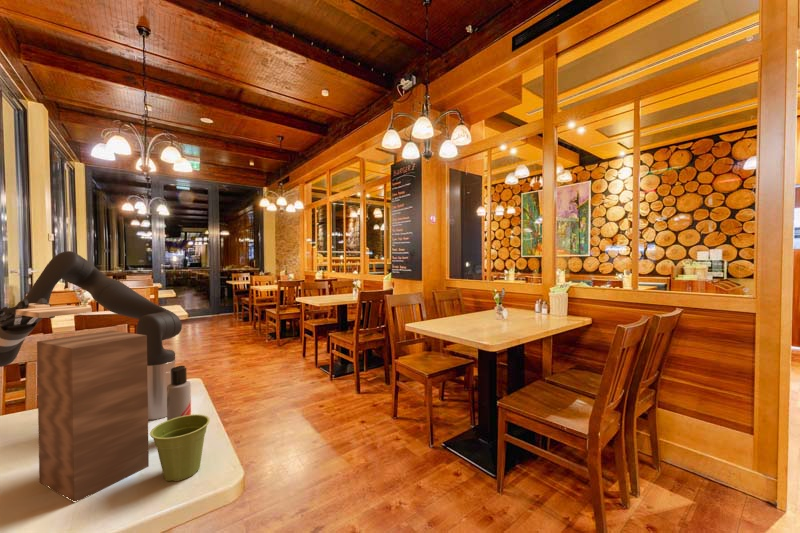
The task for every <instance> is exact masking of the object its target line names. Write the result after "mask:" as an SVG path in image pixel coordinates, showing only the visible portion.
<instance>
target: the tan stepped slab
mask: <svg viewBox="0 0 800 533" xmlns="http://www.w3.org/2000/svg"><path fill="white" fill-rule="evenodd" d="M50 305H51V304H50ZM50 305H45V304H36V303H30V304H29V306H28V308H27V309H17V310H16V314H17V315H23V316H30V317H36V318H42V319H44V318H47V317H48V318H49V317H52V316H55V317H59V316H61V317H62V316H68V315H69V316H70V315H77V314H78V315H79V314H88V313H93V308H92V307H89V306H80V305H70V304H64V305H63V304H62V305H54V306H52V305H51V307H50ZM43 317H44V318H43Z"/></svg>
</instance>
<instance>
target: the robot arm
mask: <svg viewBox="0 0 800 533" xmlns="http://www.w3.org/2000/svg"><path fill="white" fill-rule="evenodd" d="M61 280H63V281H65V282H67V283H70V284H71V285H75V286H76V287H79V288H80V289H83V290H85V292H88V293H89V294H90V295H91V297H92V298H93V300H94V301H95V302H96V303H97V304H99V305H101V307H103V308H104V309H106V310H107V311H109V312H110V313H111V312H112V313H114V314H117V315H119V316H123V317H128V318H131V319H137V320H138V321H137V325H136V334H141V335H147V379H148V421H149V420H151V421H152V420H153V421H154V420H159V419H163V418H165V417H166V418H167V386H168V385H169V384H171V369H172V368H174V367H176V352H175V351H174V350H172V349H165V348H164V345H163V341H165V340H169V339H172V338H174V337H177V336H178V335H179V334H180V333H181V331H182V329H183V325H182V324H183V323H182V321H181V319H180V317H179V316H178V315H177V314H176V313H174V312H173V311H171V310H169V309H167V308H165V307H163V306H160V305H158V304H156V303H154V302H153V301H151V300H149V299H148V298H146V297H145V296H143V295H142V294H140V293H138V292H136V291H135V290H134V289H133V288H130V286H127V285H126V284H125V283H123V282H121V281H119V280H117V279H114V278H111V277H108V276H106V274H104V273H102V271H100V270H99V269H98V268H97V267H96V266H95V265H93V263H91V262H90V261H89V260H87V259H86V258H84V257H83V256H81V255H79V254H78V253H76V252H74V251H71V250H69V251H68V250H66V251H62V252H59V253H57V254H56V255H55V256H53V257H52V259H51V260H49V262H48V263H47V264H46V266H45V267H44V269H43V270H42V272H41V273H40V275H39V276H38V278H37V279H36V280H35V282H34V283H33V285H32V287H31V288H30V289H29V291H28V293H27V295H25V297H24V298H23V299H22V300H21V301H20V300H19V301H18V302H17V303H16V305H13V307H10V306H5V307H2V308H0V368H1V367H6V366H9V365H10V364H12V363H13V362H14V361H15V360H16V358H17V356H18V355H19V353H20V351H21V347H22V345H23V343H24V341H25V340H26V338H27V337H28V336H29V334H30V333H31V332H32V331H33V330H35V328H36V326H37V325H38V323H39V322H40V321H42V320H43V319H44V318H45V317H43V318H36V317H30V316H23V315H17V314H16V310H17V309H27V308H28V306H29V304H30V303H36V304H45V305H50V307H51V306H52V305H51V304H50V299H51V296H52V292H53V290H54V289H55V287H56V286H57V284H58V283H59V282H60V281H61ZM46 318H49V319H54V318H56V316H52V317H46Z"/></svg>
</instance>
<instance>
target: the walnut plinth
mask: <svg viewBox="0 0 800 533" xmlns="http://www.w3.org/2000/svg"><path fill="white" fill-rule="evenodd" d="M36 355H37V361H36V364H37V370H36V372H37V411H38V412H37V414H38V415H37V420H38V467H39V468H38V469H39V470H38V472H39V473H38V474H39V478H38V479H39V483H40V484H41V483H42V484H41V485H43V484H45V485H47V486H49V487H50V488H51V489H50V488H49V489H50V490H52V489H53V490H54V492H55V491H56V492H55V493H57V492H58V493H59V495H60V494H61V495H60V496H62V495H64V496H65V497H68V498H69V499H71V500H73V501H77V500H80V499H82V498H84V497H86V496H88V495H90V496H92V495H94V494H97V493H98V492H100V491H102V490H103V489H107V488H108V487H110V486H112V485H114V484H116V483H118V482H120V481H123V480H124V479H127V478H128V477H130V476H132V475H134V474H136V473H139V472H140V471H142V470H144V469H146V468H148V467H149V466H150V463H149V462H150V460H149V456H150V455H149V454H150V453H149V420H148V379H147V335H141V334H137V333H133V332H125V331H120V330H111V329H109V330H104V331H97V332H96V331H95V332H90V333H84V334H79V335H70V336H64V337H58V338H53V339H51V338H50V339H44V340H39V341H36ZM45 485H44V486H45ZM53 490H52V491H53ZM58 493H57V494H58ZM91 494H92V495H91ZM65 497H64V498H65ZM88 497H89V496H88ZM86 498H87V497H86ZM84 499H85V498H84ZM82 500H83V499H82ZM80 501H81V500H80Z"/></svg>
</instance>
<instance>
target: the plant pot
mask: <svg viewBox="0 0 800 533" xmlns="http://www.w3.org/2000/svg"><path fill="white" fill-rule="evenodd" d="M208 424H210V417H209V416H208V415H205V414H191V415H186V416H181V417H177V418H173V419H171V420H168V421H167V420H165V421H163V422H161V423H159V424H158V425H156V426H154V428H152V429H151V430H150V432H149V436H150V437H151V438H152V439H153V441H154V446H156V451H157V454H158V459H159V462H160V463H159V464H160V467H161V471H162V476H163V478H164V480H166V481H167V482H170V481H175V482H176V481H178V482H179V481H183V480H185V479H187V478H190V477H192V476H193V475H195V474H196V473H197V471H198V470H200V468H201V462H202V455H203V454H202V453H203V447H204V441H205V435H206V433H207V427H208Z"/></svg>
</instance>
